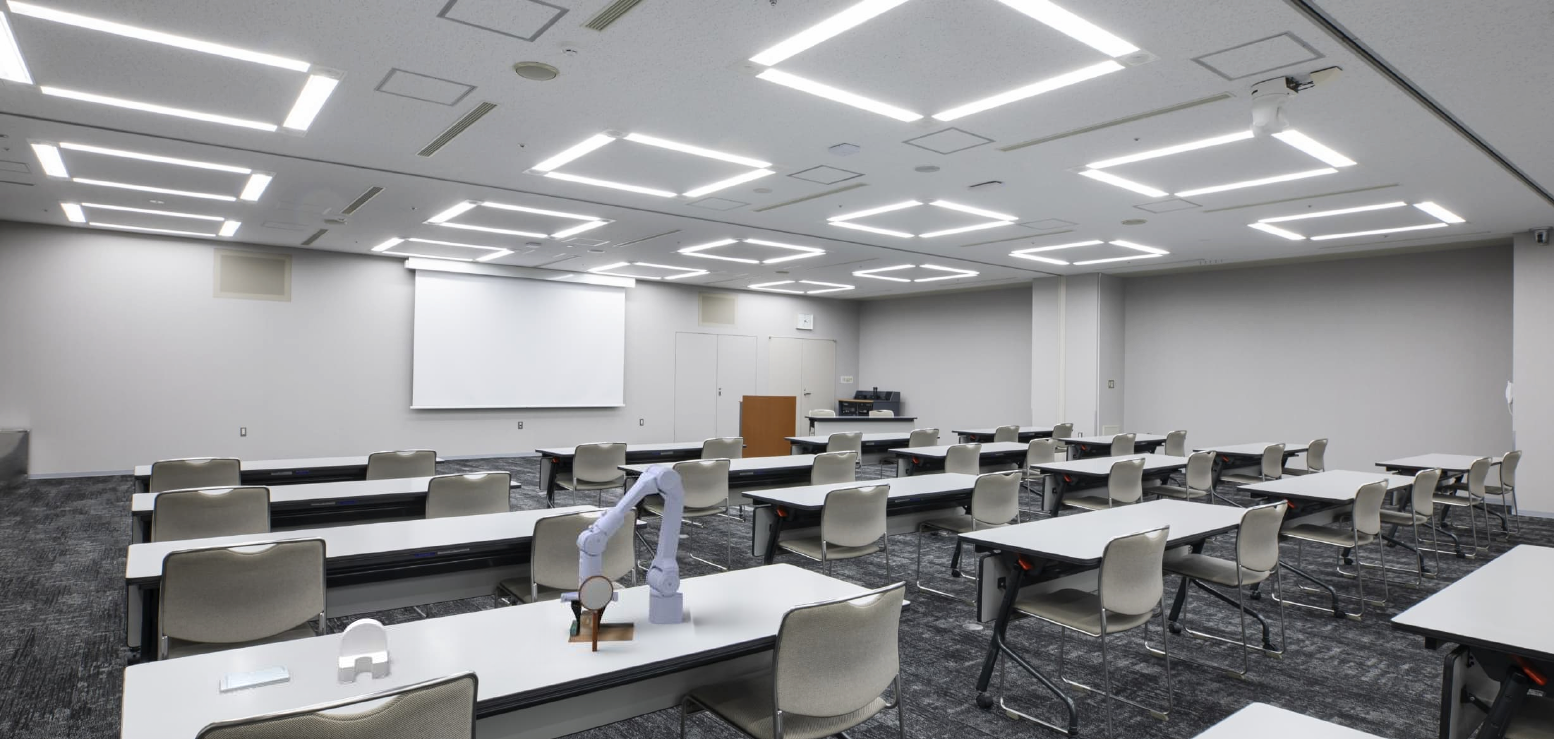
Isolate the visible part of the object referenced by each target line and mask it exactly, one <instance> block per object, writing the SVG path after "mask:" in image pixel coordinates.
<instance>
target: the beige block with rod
mask: <svg viewBox="0 0 1554 739" xmlns="http://www.w3.org/2000/svg"><path fill="white" fill-rule="evenodd" d="M593 612H594V611H590V610H587V609H584V610H583V609H582V612H581V622H580V636H590V635H592V634H593Z"/></svg>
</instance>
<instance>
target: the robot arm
mask: <svg viewBox="0 0 1554 739" xmlns="http://www.w3.org/2000/svg"><path fill="white" fill-rule="evenodd" d="M681 481H682V476H681V475H680V474H679V473H678V472H677V471H676V470H675V469H673V468H672V467H666V466H662V465H661V464H657V463H656V464H651V465H649V466H648V467H647V468H646V470H645V471H644V472H642V473H641V474H640V476H639V477H638V479H637V480H636V482H635V483H634V484H633V485H632V487H630V489H629V490H628V491H627V492H626V494H624V496H623V497H622V498H621V499H620V501H618V503H617V504H616V505H615V507H608V508H607V509H606V510H605V509H603V510H602V511H601V512H600V514H601V515H600V516H599V517H598V518H597V520H596V521H594V523H592V524H590V525H589V526H588V529H586V530H584V531H582V532H580V534H579V536H578V537H577V538H578V539H577V540H576V542H575V543H576V546H577V548H578V549H579V561H578V562H579V563H578V589H579V588H580V586H581V585H582V583H583V582H584V581H585V580H586V579H587V578H589V577H591V576H595V575H601V576H602V566H603V565H602V564H603V562H602V561H603V558H602V556H603V552H604V551H605V550H606V546H607V542H608V540H610V538H611V537H612V536H613V535H614V534H615V533H616V532H617V531H618V530H619V529H620V528H621V526H622V525H623V524H624V523H625V516H626V514H628V513H629V511H631V510H632V509H633V508H634V507H635V506H636V505H637V504H638V503H639V502H640V501H641V500H642V499H643V498H644V497H645V496H647V495H652V494H658V493H659V494H660V496H661V497H662V498H663V499H664V505H663V506H664V507H663V511H662V516H661V524H660V531H659V537H658V544H657V550H656V555H655V557H654V558H653V559H652V561H651V563H650V564H651V565H650V567H649V570H647V572H646V577H645V579H646V583H647V585H648V586H649V596H648V597H649V598H648V599H649V600H648V602H649V604H648V621H649V623H651V624H653V625H669V624H683V621H684V612H683V607H684V606H683V603H684V594H683V592H677V591H678V590H679V588H680V585H681V579H680V576H679V572H680V569H679V565H678V562H677V559H676V558H677V554H678V553H677V551H678V546H679V539H680V534H681V528H682V520H683V513H684V507H685V502H686V494H685V493H686V492H685V490H684V487H683V483H682V482H681ZM578 592H579V591H574V592H573V591H572V592H563V593H561V595H560V603H562V604H564V603H568V602H569V603H570V607H571V610H572V613H573V614H574V617H575V620H576V621H577V625H578V630H580V622H581V614H582V611H583V606H582V605H581V604H580V602H579V598H578ZM618 600H619V592H618V591H613V597H612V599H611V601H610V602H619V601H618ZM607 606H608V605H607ZM607 606H606V607H604V608H603V609H601V610H597V612H598V630H599V628H600V623H602V618H603V617H604V616H603V615H604V613H605V610H606V609H607Z"/></svg>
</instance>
